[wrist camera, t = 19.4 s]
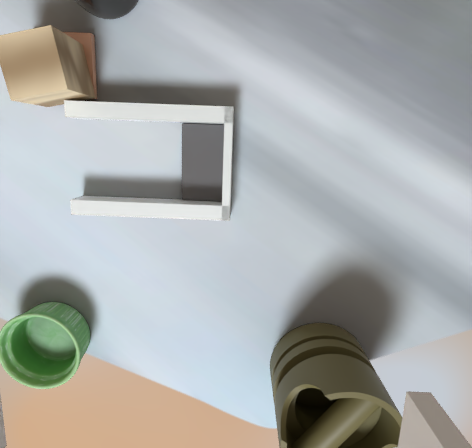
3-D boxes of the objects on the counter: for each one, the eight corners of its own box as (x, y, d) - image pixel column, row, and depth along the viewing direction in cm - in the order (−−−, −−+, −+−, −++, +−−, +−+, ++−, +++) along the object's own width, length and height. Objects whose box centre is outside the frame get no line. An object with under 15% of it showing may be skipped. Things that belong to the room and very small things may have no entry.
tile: (94, 35, 36) (90, 32, 35) (97, 99, 37) (94, 98, 36) (33, 33, 36) (29, 30, 35) (38, 97, 37) (34, 96, 36)
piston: (437, 441, 31) (349, 521, 33) (384, 360, 43) (321, 422, 45) (340, 367, 30) (254, 455, 32) (312, 304, 42) (250, 371, 44)
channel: (233, 109, 37) (233, 106, 34) (230, 215, 40) (229, 220, 37) (78, 103, 37) (63, 100, 34) (83, 209, 40) (71, 214, 37)
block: (95, 97, 36) (67, 89, 30) (47, 107, 37) (10, 100, 31) (82, 44, 35) (50, 25, 29) (33, 54, 36) (-8, 36, 30)
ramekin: (65, 379, 45) (46, 404, 40) (5, 332, 43) (-21, 353, 39) (110, 331, 43) (96, 351, 39) (50, 281, 42) (28, 297, 37)
